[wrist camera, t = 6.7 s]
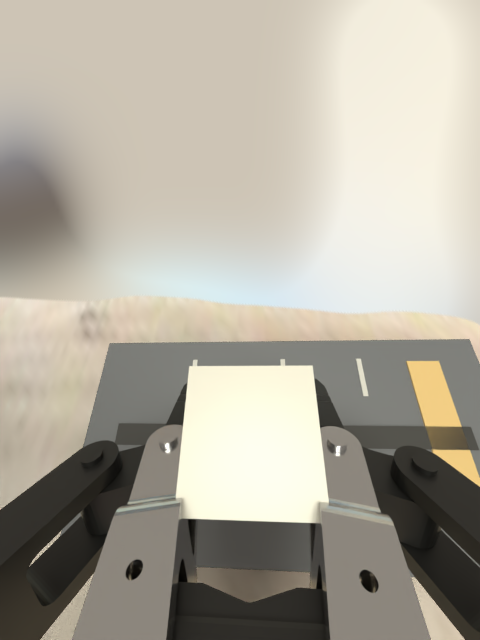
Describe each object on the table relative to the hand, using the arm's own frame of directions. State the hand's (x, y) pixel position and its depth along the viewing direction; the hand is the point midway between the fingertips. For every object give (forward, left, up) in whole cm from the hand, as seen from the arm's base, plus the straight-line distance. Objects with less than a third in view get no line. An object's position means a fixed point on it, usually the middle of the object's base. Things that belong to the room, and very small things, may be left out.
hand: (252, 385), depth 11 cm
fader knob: (0, -2, -5) cm, 5 cm away
